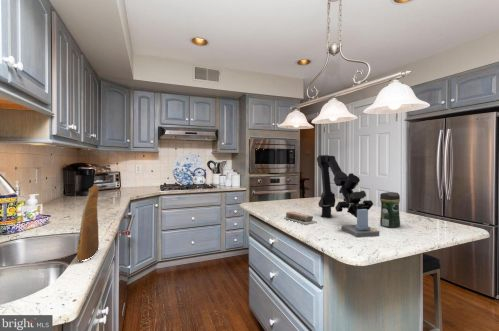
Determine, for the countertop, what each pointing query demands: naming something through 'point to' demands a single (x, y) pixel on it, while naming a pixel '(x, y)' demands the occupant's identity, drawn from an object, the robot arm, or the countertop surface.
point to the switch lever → (362, 220)
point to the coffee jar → (390, 209)
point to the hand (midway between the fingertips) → (361, 220)
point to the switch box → (359, 231)
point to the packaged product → (299, 218)
